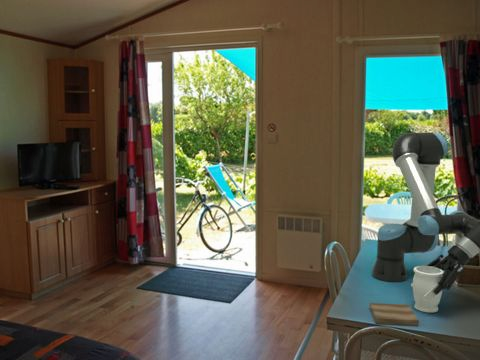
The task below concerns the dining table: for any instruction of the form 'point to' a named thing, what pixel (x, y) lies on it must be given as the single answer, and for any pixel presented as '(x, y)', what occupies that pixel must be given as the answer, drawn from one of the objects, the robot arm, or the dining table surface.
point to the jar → (426, 287)
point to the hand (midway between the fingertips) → (419, 293)
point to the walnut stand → (393, 314)
